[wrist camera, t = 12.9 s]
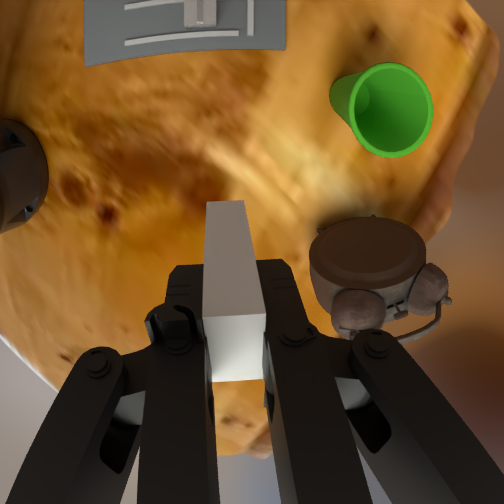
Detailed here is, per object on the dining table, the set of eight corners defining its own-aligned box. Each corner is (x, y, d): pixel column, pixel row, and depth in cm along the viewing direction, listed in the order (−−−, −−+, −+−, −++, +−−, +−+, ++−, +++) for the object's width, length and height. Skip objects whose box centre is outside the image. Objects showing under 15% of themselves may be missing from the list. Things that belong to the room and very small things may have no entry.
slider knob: (187, 29, 26) (183, 24, 23) (187, 4, 25) (183, -3, 21) (216, 27, 27) (216, 22, 23) (216, 3, 25) (216, -5, 22)
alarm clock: (301, 268, 46) (343, 383, 29) (293, 225, 42) (341, 340, 25) (392, 243, 45) (462, 338, 28) (391, 200, 41) (477, 290, 24)
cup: (298, 79, 32) (331, 85, 22) (363, 50, 30) (414, 49, 21) (332, 144, 36) (371, 174, 27) (392, 114, 34) (444, 135, 25)
